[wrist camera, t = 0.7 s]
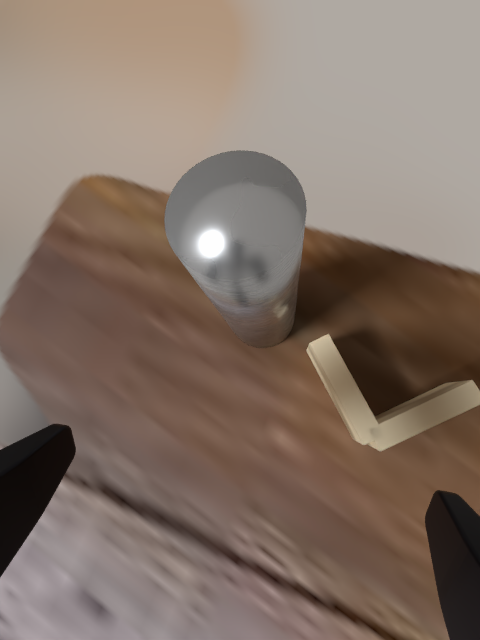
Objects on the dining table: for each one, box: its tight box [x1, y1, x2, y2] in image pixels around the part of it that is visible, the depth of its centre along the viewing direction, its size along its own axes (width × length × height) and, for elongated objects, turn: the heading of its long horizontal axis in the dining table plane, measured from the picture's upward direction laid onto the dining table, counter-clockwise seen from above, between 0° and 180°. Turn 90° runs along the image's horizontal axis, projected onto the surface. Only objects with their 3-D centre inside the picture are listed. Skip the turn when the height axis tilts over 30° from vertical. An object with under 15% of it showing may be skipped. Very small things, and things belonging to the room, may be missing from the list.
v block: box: [306, 334, 480, 452], centre depth 19 cm, size 5×9×3 cm, turn 70°
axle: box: [165, 151, 306, 348], centre depth 16 cm, size 4×4×13 cm
